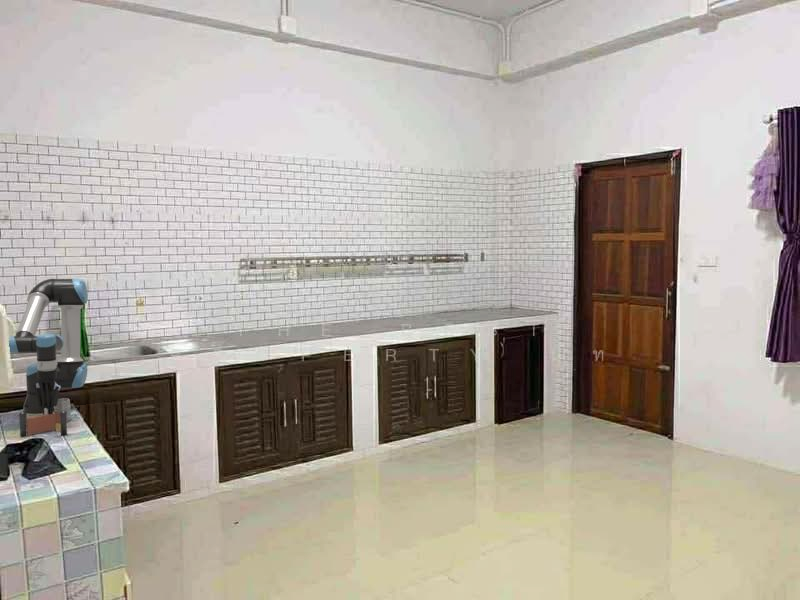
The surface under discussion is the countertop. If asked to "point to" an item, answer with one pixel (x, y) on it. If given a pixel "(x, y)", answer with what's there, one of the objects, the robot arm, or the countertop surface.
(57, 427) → the latch post
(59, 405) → the mug
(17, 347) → the robot arm
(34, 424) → the gate
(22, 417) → the hinge post
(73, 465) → the countertop surface
